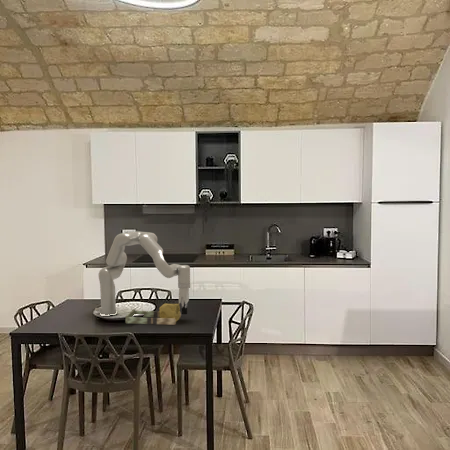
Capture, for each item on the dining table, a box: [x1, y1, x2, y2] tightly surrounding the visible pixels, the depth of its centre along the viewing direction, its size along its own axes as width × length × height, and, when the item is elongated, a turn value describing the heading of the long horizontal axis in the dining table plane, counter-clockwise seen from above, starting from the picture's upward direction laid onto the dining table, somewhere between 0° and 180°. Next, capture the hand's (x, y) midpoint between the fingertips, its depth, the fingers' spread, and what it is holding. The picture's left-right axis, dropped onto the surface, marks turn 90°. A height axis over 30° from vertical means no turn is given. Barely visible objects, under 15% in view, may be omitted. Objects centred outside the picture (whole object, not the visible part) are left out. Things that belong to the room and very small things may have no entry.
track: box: [125, 308, 182, 326], centre depth 302 cm, size 31×16×4 cm, turn 83°
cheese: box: [158, 303, 181, 322], centre depth 300 cm, size 10×11×10 cm
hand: (184, 314), depth 299 cm, fingers closed
